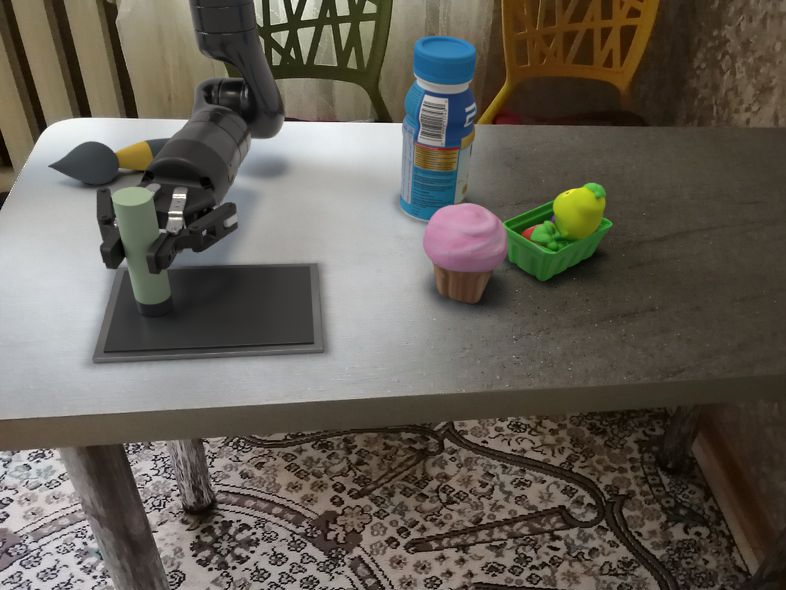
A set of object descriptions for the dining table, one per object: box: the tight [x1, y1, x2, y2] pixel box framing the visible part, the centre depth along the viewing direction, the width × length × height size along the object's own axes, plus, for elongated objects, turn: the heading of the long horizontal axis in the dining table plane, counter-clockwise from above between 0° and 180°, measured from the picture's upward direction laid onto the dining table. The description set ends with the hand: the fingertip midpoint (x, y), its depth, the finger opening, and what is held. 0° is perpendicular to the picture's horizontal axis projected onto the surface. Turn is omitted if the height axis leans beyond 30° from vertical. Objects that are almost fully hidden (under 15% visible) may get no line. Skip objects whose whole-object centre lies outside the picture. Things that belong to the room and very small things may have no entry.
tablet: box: [91, 262, 324, 364], centre depth 73 cm, size 20×14×1 cm
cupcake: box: [422, 202, 508, 305], centre depth 77 cm, size 9×9×10 cm
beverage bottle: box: [399, 35, 478, 223], centre depth 86 cm, size 8×8×20 cm
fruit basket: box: [502, 182, 613, 282], centre depth 83 cm, size 11×9×11 cm
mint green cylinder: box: [112, 186, 173, 317], centre depth 67 cm, size 3×3×12 cm
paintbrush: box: [47, 137, 171, 186], centre depth 91 cm, size 20×5×5 cm, turn 134°
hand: (130, 262), depth 65 cm, fingers closed on mint green cylinder, 3 cm apart
